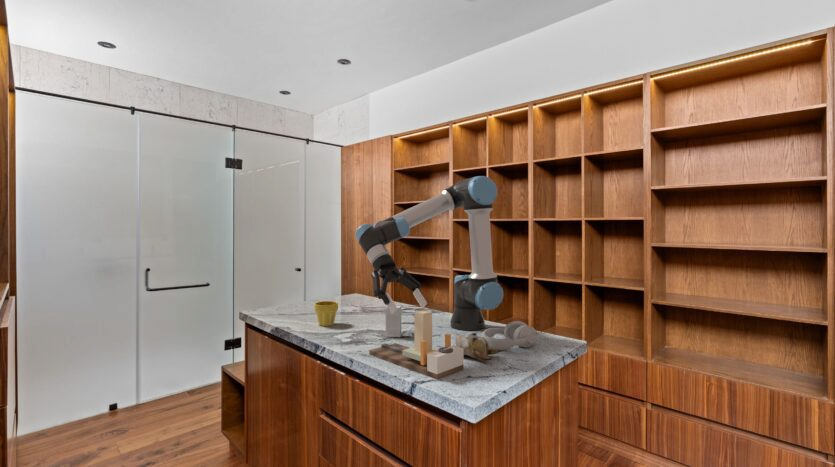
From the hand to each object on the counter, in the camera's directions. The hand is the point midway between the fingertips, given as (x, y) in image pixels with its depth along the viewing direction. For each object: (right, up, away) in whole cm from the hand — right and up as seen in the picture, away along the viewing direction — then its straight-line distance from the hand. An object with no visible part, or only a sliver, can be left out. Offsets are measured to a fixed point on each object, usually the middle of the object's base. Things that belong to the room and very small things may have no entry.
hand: (410, 308), depth 133 cm
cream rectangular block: (+11, -16, -11) cm, 22 cm away
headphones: (+37, -17, +19) cm, 45 cm away
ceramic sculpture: (+22, -17, +3) cm, 28 cm away
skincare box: (-7, -17, +30) cm, 35 cm away
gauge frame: (+8, -14, -8) cm, 19 cm away
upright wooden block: (+4, -15, -4) cm, 16 cm away
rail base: (+1, -17, -1) cm, 17 cm away
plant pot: (-39, -17, +49) cm, 65 cm away
